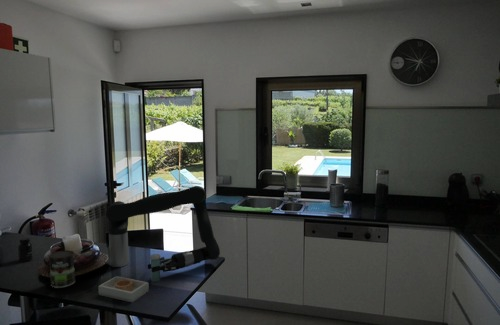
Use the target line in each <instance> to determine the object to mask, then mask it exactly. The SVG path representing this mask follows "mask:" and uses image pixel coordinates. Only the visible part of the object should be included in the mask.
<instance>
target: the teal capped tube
mask: <svg viewBox="0 0 500 325" xmlns="http://www.w3.org/2000/svg"><path fill="white" fill-rule="evenodd" d="M160 258H161V254H159V253H155V254H150V255H149V260H150V264H151V268H152V267H155V266H160ZM150 273H151V274H150V275H151V277H150V279H151V282H152V283H157V282H160V281H161V271H156V272H152V271H151V270H150Z"/></svg>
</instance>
